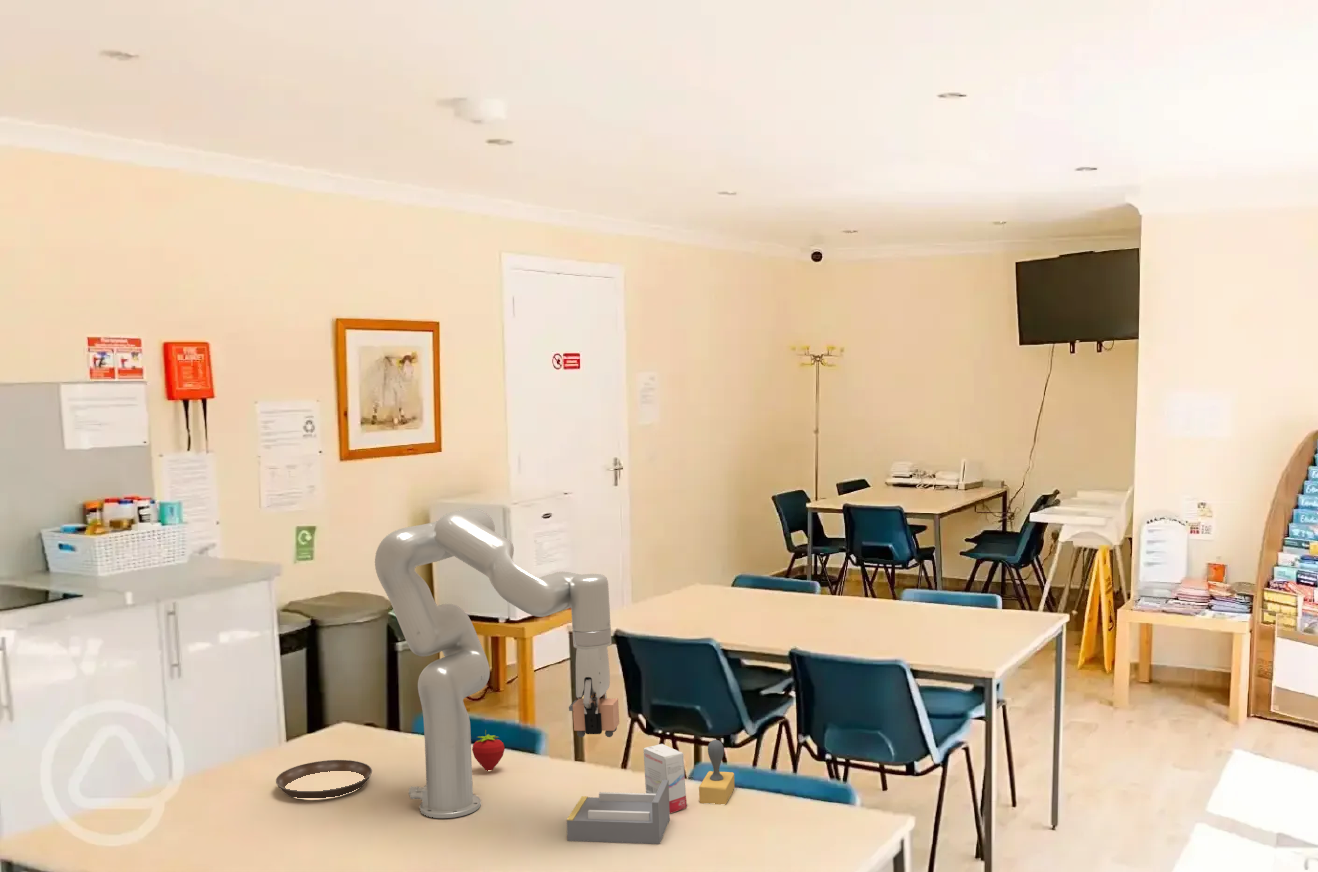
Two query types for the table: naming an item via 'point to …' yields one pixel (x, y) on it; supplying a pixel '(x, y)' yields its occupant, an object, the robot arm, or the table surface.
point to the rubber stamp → (716, 778)
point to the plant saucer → (323, 767)
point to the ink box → (666, 774)
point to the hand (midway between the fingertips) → (597, 728)
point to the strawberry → (488, 751)
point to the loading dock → (621, 817)
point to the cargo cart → (606, 708)
